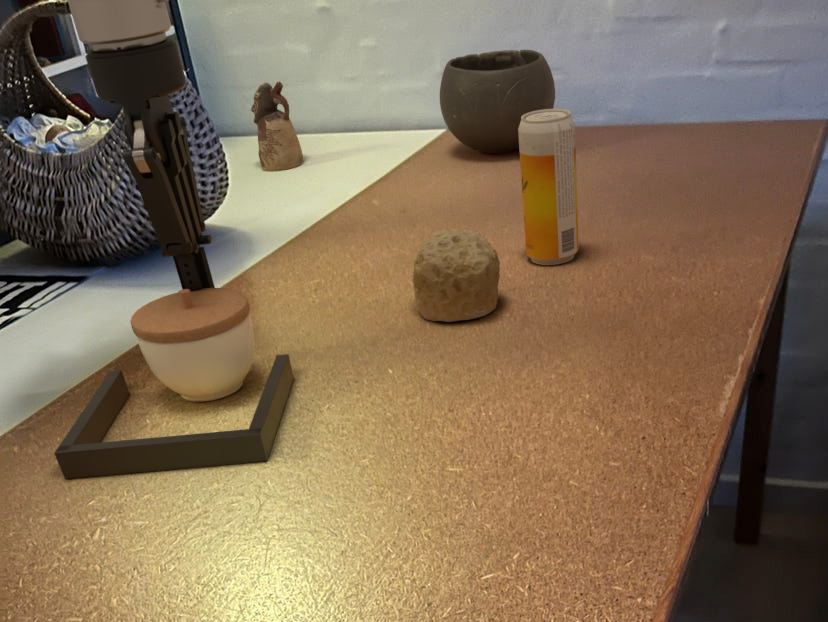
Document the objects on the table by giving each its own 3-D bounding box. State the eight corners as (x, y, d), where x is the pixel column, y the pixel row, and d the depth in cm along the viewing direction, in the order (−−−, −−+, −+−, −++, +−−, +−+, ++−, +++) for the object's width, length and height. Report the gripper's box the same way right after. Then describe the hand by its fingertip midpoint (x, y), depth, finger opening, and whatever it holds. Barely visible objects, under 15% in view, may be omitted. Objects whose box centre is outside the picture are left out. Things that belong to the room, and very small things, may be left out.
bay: (118, 394, 95) (109, 370, 93) (294, 378, 94) (288, 353, 93) (64, 479, 83) (53, 453, 81) (267, 461, 82) (260, 434, 80)
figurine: (272, 159, 164) (255, 78, 157) (310, 158, 162) (295, 76, 155) (253, 171, 159) (234, 88, 151) (293, 170, 157) (276, 86, 149)
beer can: (550, 245, 117) (544, 105, 107) (589, 254, 113) (586, 110, 104) (515, 261, 114) (505, 118, 104) (554, 270, 110) (547, 123, 101)
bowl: (526, 128, 164) (521, 41, 156) (577, 148, 151) (575, 54, 143) (428, 149, 159) (418, 60, 151) (472, 171, 146) (463, 75, 138)
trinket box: (270, 357, 98) (247, 263, 93) (262, 404, 90) (237, 304, 84) (164, 371, 98) (135, 278, 92) (147, 419, 90) (113, 320, 84)
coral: (434, 291, 109) (426, 220, 104) (513, 293, 106) (508, 220, 101) (402, 323, 102) (391, 249, 97) (485, 327, 99) (478, 251, 94)
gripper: (154, 49, 76) (232, 340, 91) (189, 23, 86) (255, 290, 101) (60, 60, 76) (153, 348, 91) (106, 33, 86) (184, 297, 101)
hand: (207, 317), depth 96 cm, fingers closed
